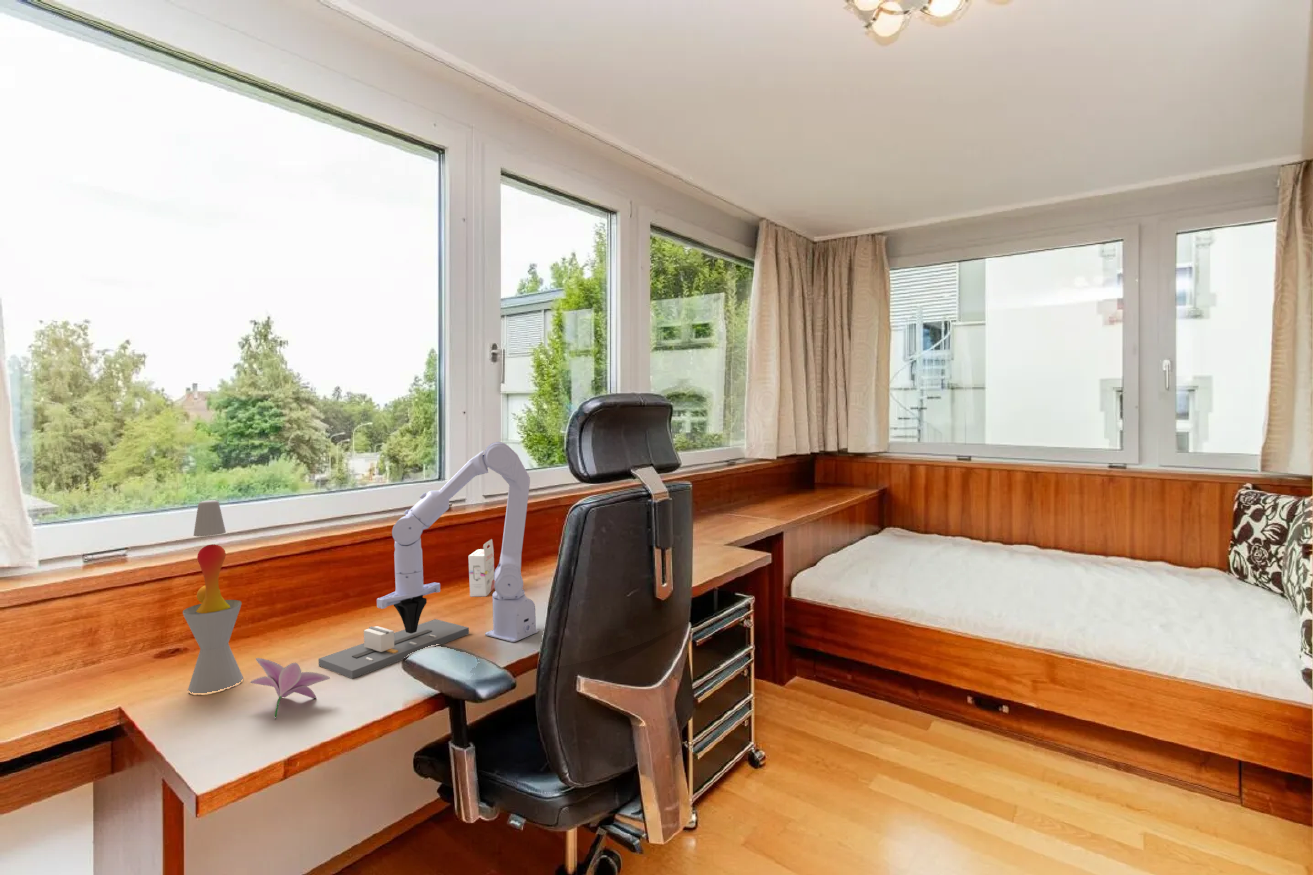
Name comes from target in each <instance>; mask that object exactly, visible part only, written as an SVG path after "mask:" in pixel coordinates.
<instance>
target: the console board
mask: <svg viewBox="0 0 1313 875" xmlns="http://www.w3.org/2000/svg"><path fill="white" fill-rule="evenodd" d="M467 635H470V628H469V627H468V626H464V625H461V624H460V625H459V624H456V623H452V622H448V621H444V620H440V619H436V618H434V619H431V620H428V621H426V622H423V623H420V624H419V623H418V627H417V632H414V633H407V632H406V630H405V628H404V629H402V630H399V631H395V632H394V648H391V649H388V650H386V651H383V652H379V651H376V650H373V649H370V648H367V647H364V642H363V643H360V644H357V645H354V646H352V647H349V648H346V649H343V650H340V651H336V652H334V653H331V654H328V655H324V656H322V657H319V658H318V667H320V666H321V668H324V669H326V670H329V671H330V672H334V673H336V674H340V675H341V676H344V677H347V678H349V679H352V680H353V679H355V678H358V677H360V676H363V675H366V674H369V673H371V672H373V671H376V670H379V669H382V668H385V667H386V666H389V665H392V664H394V663H397V662H399V661H402V660H405V659H404V657H406V656H407V655H408V654H410V653H412V652H415V651H417V650H420V649H423V648H425V647H428V646H431V645H436V644H442V645H443V644H446V643H448V642H451V641H454V640H457V639H459V638H462V637H464V636H467Z"/></svg>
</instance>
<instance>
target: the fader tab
mask: <svg viewBox="0 0 1313 875" xmlns="http://www.w3.org/2000/svg"><path fill="white" fill-rule="evenodd" d="M394 633H395V631H394V630H392V629H389V628H386V627H382V626H378V625H376V626H369V627H368V628H367V629H364V630H363V643H364V647H367V648H370V649H373V650H376V651H379V652H383V651H386V650H388V649H391V648H394Z"/></svg>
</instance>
